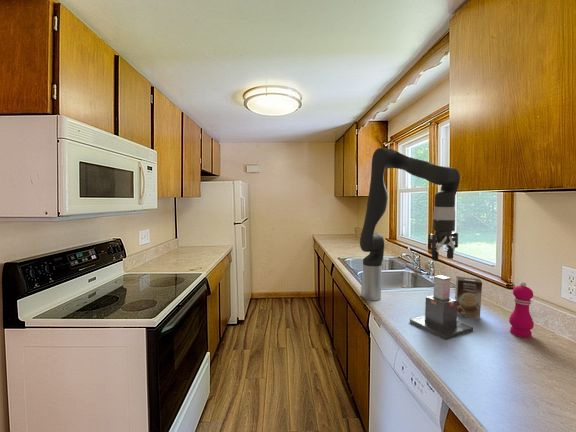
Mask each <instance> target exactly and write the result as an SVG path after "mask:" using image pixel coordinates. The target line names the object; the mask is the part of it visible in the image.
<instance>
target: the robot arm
mask: <svg viewBox="0 0 576 432" xmlns="http://www.w3.org/2000/svg"><path fill="white" fill-rule="evenodd" d="M370 168H371V172H370V175H371V176H370V182H369V191H368V196H367V204H366V209H365V210H366V211H365V217H364V222H363V225H362V226H363V227H362V230H361V234H360V238H359V246H360V247H359V248H360V249H361V250H362V251H363V252H366V253H369V254H368V255H367V256H365V257H363V259H362V277H361V278H360V281H361V282H360V284H361V285H360V289H361V291H360V295H361V297H362V298H363V299H366V300H368V301H379V300H381V298H382V268H383V267H382V263H383V261H384V257H385V256H384V253H385V240H384V236H383V235H382V234H381V233H379V232H375V229H376V226H377V224H378V223H379V222H380V219H382V217H383V216H384V214H385V213H386V211H387V206H388V199H389V195H388V190H387V187H386V185H385V180H384V176H385V169H399V170H403V171H405V172H406V173H408V174H410V175H412V176H414V177H417V178H419V179H423V180H426V181H428V182H430V183H431V184H434V185H438V186H441V187H440V191H438V192H436V193H435V195H434V206H433V207H434V208H433V214H432V215H433V216H432V217H433V218H432V220H433V221H432V229H433V231H434V234H433V233H429V234H428V238H427V239H428V241H427V249H428V250H430V251H431V260H432V261H435V262H437V261H439V255H440V253H439V251H440V248H442V247H443V246H444V245H445V247H446V258H447V259H450V260H453V259H454V253H455V252H454V251H455V249H456V248H458V247H459V233H458V232H455V230H456V195H457V192H458V189H459V187H460V186H459V185H460V182H461V181H460V179H461V176H460V172H459V170H458V169H457V168H455V167H452V166H451V167H450V166H441V165H437V164H435V163H433V162H430V161H426V160H425V159H424V160H423V159H419V158H414V157H410V156H407V155H405V154H403V153H401V152H399V151H397V150H395V149H392V148H388V147H387V148H384V147H379V148H377V149H375V151H374V152H373V154H372V158H371V167H370Z"/></svg>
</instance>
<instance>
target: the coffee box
mask: <svg viewBox="0 0 576 432" xmlns="http://www.w3.org/2000/svg"><path fill="white" fill-rule="evenodd" d="M482 290H483V282H482V280H481V279H480V278H473V277H466V276H456V277H455V296H454V299H455V300H458V305H457V317H464V318H469V319H476V320H480V319H481V310H482V309H481V307H482V292H483V291H482Z"/></svg>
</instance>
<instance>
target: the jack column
mask: <svg viewBox="0 0 576 432" xmlns="http://www.w3.org/2000/svg"><path fill="white" fill-rule="evenodd" d="M451 279H452V278H451V277H450V276H446V275H441V274H439V275H434V276H433V295H434V299H437V300H440V301H448V300H449V299H450V298H451V297H450V296H451Z"/></svg>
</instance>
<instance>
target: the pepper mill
mask: <svg viewBox="0 0 576 432" xmlns="http://www.w3.org/2000/svg"><path fill="white" fill-rule="evenodd" d="M519 284H520V285H516V286H515V287H513V289H512V295H513V296H514V297H513V302H514V309H513V311H512V313H511V314H510V316H509V319H508V322H509V325H511V326H510V328H509V329H510V331H509V332H510V334H512V335H514V336H516V337H519V338H525V339H530V338H532V331H531V330H532V329H534V327H535V325H534V320H533V318H532V316H531V313H530V312H531V311H530V306H531V305H532V303H531V302H532V300H531V299H533V298H534V292H533V289H531V288H530V287H528V286H527V283H526V282H524V281H522V282H520V283H519Z"/></svg>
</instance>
